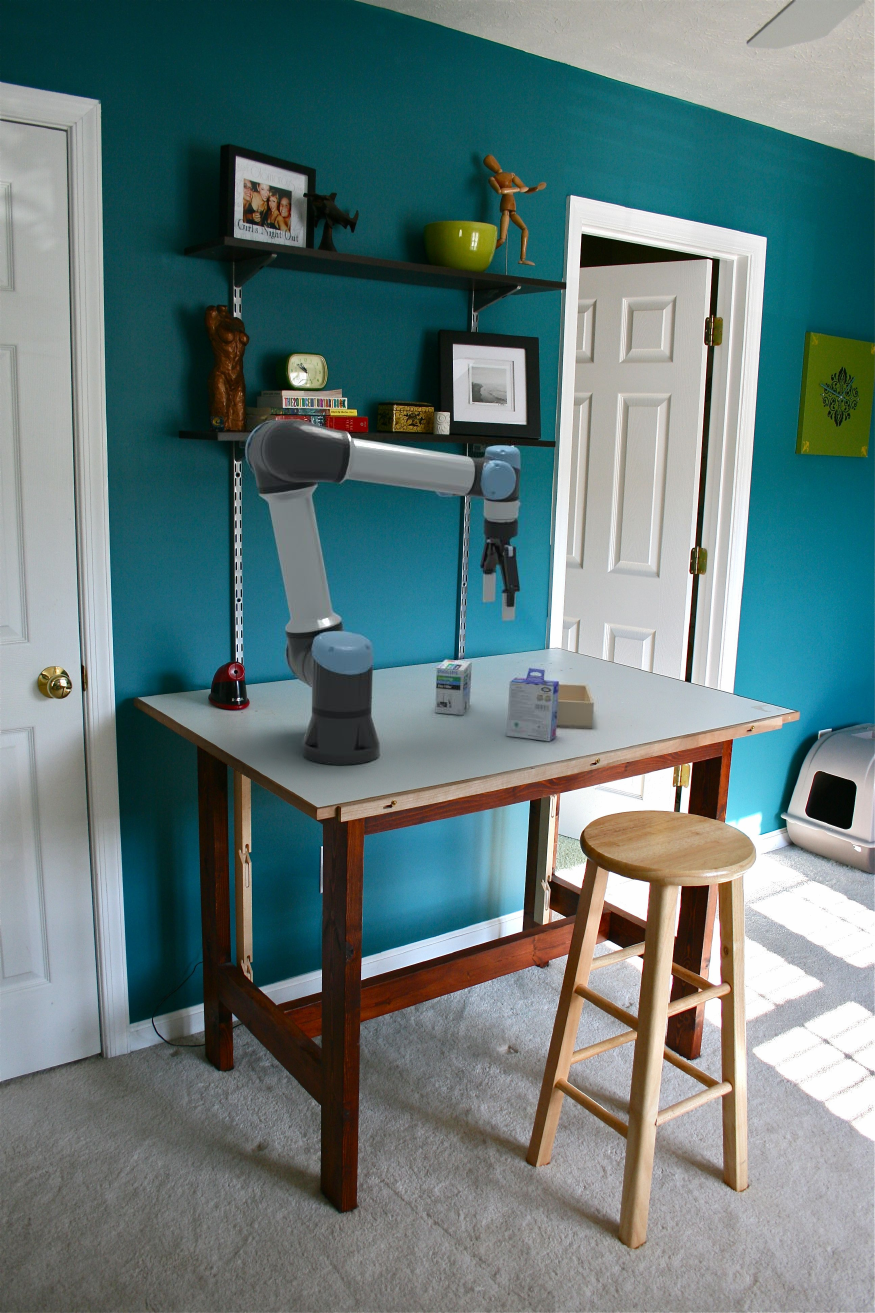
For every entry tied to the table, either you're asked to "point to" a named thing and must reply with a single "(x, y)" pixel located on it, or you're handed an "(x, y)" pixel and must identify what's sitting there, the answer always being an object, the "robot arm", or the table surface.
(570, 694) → the open tan box
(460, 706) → the light bulb box
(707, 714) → the table surface
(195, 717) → the table surface
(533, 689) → the ink cartridge box
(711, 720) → the table surface
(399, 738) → the table surface
